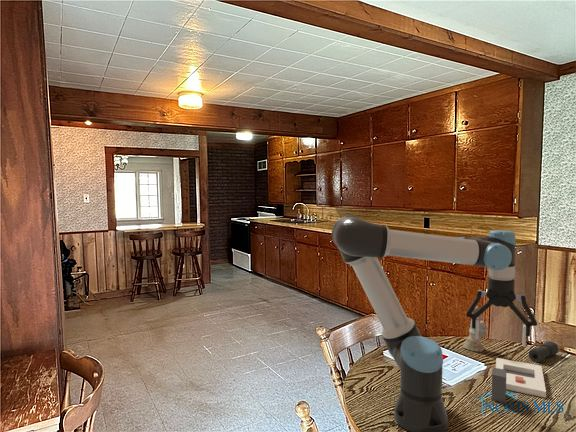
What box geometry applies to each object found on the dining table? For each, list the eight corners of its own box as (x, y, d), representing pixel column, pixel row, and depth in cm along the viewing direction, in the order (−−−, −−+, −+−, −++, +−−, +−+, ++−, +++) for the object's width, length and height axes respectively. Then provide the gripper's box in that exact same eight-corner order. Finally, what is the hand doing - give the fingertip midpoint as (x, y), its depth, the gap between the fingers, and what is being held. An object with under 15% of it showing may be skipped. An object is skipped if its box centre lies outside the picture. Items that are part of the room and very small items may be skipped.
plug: (505, 403, 125) (506, 377, 124) (491, 400, 127) (492, 374, 126) (505, 392, 131) (506, 368, 131) (492, 389, 133) (493, 365, 133)
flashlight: (541, 365, 152) (542, 351, 152) (527, 360, 157) (527, 347, 156) (559, 355, 161) (559, 343, 160) (544, 351, 165) (545, 338, 165)
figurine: (472, 353, 163) (473, 306, 162) (459, 346, 171) (460, 301, 170) (490, 351, 165) (491, 305, 163) (477, 344, 173) (478, 299, 172)
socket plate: (545, 397, 128) (546, 389, 127) (494, 386, 135) (494, 379, 135) (541, 371, 147) (541, 363, 146) (496, 362, 154) (496, 355, 154)
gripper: (546, 279, 123) (544, 344, 124) (460, 272, 135) (459, 331, 137) (548, 284, 117) (546, 353, 118) (458, 276, 129) (457, 338, 130)
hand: (499, 341), depth 127 cm, fingers open, 13 cm apart
